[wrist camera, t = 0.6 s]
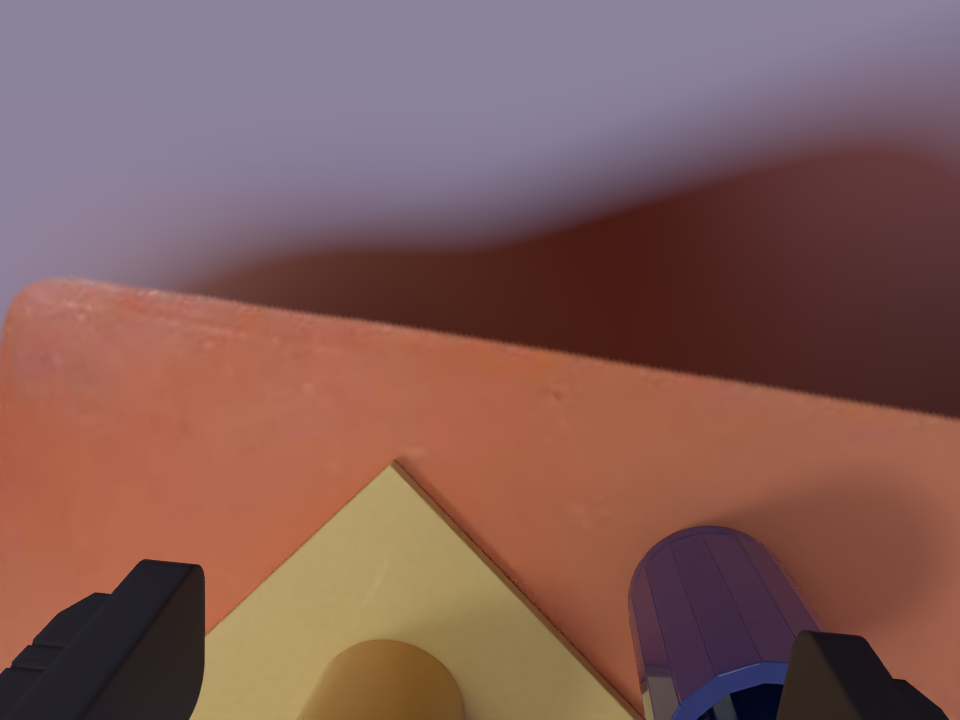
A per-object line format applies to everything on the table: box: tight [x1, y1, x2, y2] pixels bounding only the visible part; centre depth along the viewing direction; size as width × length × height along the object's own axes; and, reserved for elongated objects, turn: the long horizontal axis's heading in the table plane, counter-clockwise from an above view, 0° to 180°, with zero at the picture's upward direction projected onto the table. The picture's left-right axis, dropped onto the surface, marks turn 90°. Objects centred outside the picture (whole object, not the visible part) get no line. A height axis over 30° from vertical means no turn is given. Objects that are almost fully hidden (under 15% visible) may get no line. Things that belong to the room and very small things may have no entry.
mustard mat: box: [189, 460, 644, 720], centre depth 32 cm, size 14×14×1 cm
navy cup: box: [628, 526, 829, 720], centre depth 26 cm, size 6×6×10 cm
